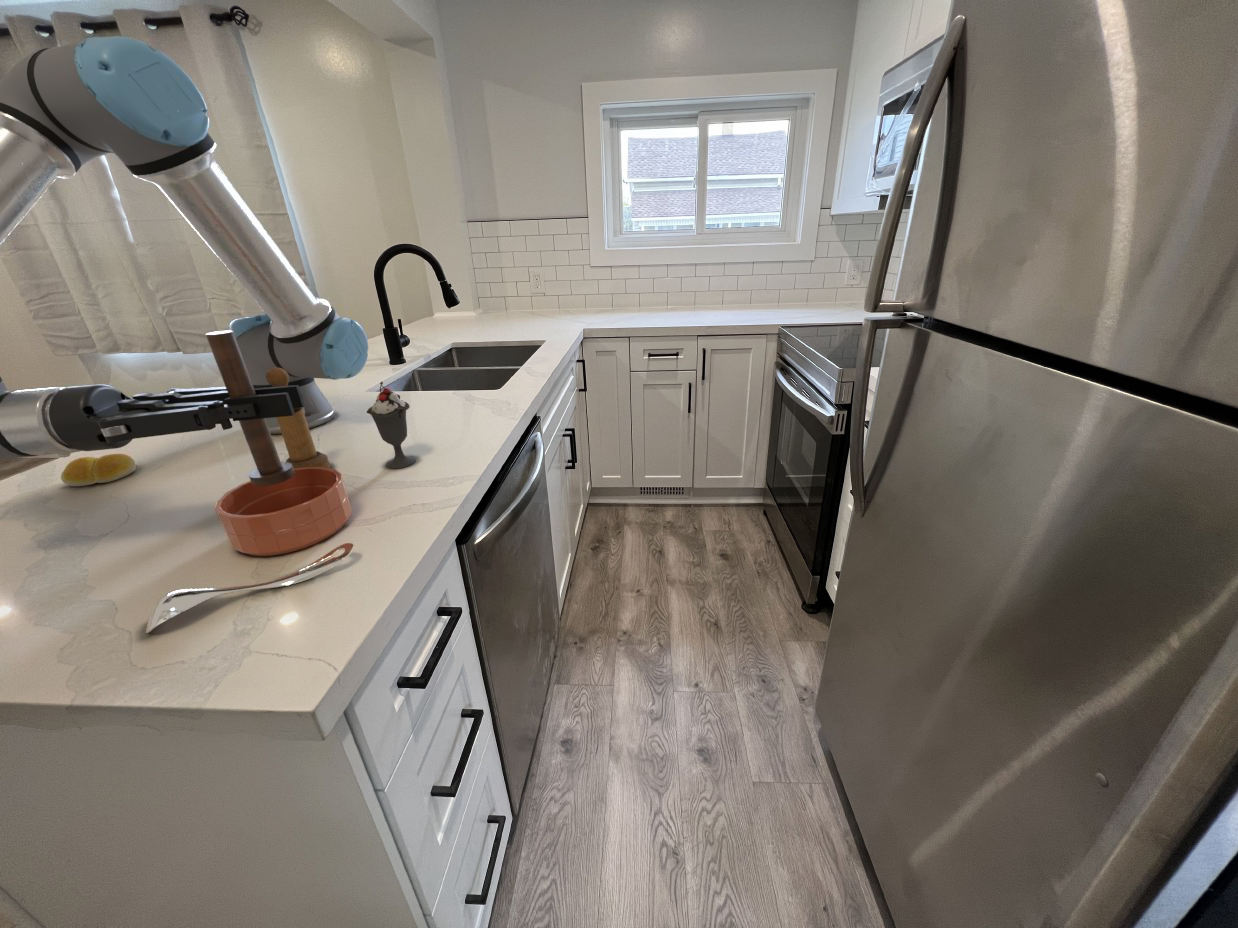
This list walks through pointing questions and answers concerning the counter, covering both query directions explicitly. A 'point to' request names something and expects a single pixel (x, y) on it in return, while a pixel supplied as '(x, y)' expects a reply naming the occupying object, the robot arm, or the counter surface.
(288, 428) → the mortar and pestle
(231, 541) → the bowl
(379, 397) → the sundae
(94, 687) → the counter surface
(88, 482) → the bread roll
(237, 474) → the counter surface
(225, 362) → the stick
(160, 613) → the metal spatula
